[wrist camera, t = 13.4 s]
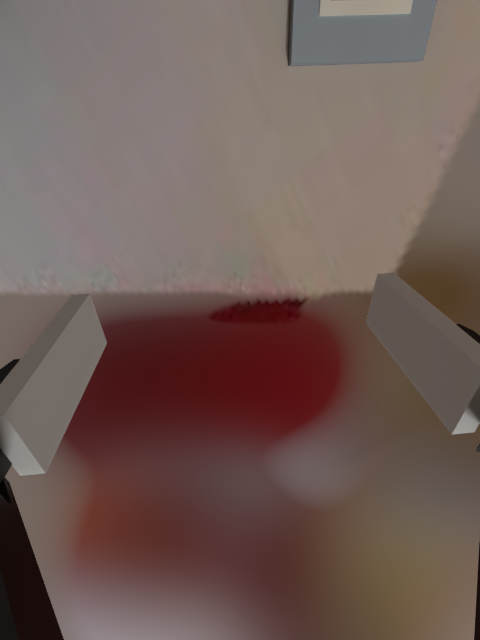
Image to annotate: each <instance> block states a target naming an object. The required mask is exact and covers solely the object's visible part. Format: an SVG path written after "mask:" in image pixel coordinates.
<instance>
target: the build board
mask: <svg viewBox="0 0 480 640" xmlns="http://www.w3.org/2000/svg"><path fill="white" fill-rule="evenodd" d="M436 2H437V0H333V1H331V0H291V19H290V44H289V66H308V65H337V64H365V63H394V62H417V61H421V60H423V59H424V54H425V50H426V46H427V41H428V37H429V33H430V28H431V24H432V20H433V15H434V11H435V7H436Z"/></svg>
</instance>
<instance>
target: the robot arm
mask: <svg viewBox="0 0 480 640" xmlns="http://www.w3.org/2000/svg"><path fill="white" fill-rule="evenodd" d="M366 324H367V325H368V326H369V328H370V329H371V330H372V332H373V333H374V334H375V335H376V337H377V338H378V339H379V341H380V342H381V343H382V344H383V345H384V347H385V348H386V350H387V351H388V352H389V354H390V355H391V356H392V357H393V359H394V360H395V361H396V363H397V364H398V365H399V367H400V368H401V369H402V370H403V372H404V373H405V374H406V376H407V377H408V378H409V379H410V381H411V382H412V383H413V385H414V386H415V387H416V389H417V390H418V391H419V393H420V394H421V395H422V396H423V398H424V399H425V400H426V402H427V403H428V404H429V406H430V407H431V408H432V409H433V411H434V412H435V413H436V415H437V416H438V417H439V418H440V420H441V421H442V422H443V424H444V425H445V426H446V428H447V429H448V430H449V432H450V433H451V434H461V433H471V432H474V431H475V430H476V428H477V426H478V425H479V423H480V336H479V335H478V334H477V333H476V332H474V331H473V330H471V329H468V328H466V327H464V326H462V325H460V324H455V323H453V322H452V321H451V320H450V319H449V318H448V317H446V316H445V315H444V314H443V313H441V312H440V311H439V310H438V309H437V308H435V307H434V306H433V305H432V304H430V303H429V302H428V301H427V300H426V299H425V298H423V297H422V296H421V295H420V294H419V293H417V292H416V291H415V290H414V289H412V288H411V287H410V286H409V285H408V284H406V283H405V282H404V281H403V280H402V279H400V278H399V277H398V276H397V275H396V274H394V273H384V274H377V278H376V283H375V287H374V291H373V295H372V300H371V304H370V308H369V312H368V317H367V321H366ZM106 344H107V342H106V339H105V336H104V333H103V330H102V327H101V324H100V322H99V319H98V316H97V313H96V310H95V308H94V305H93V302H92V299H91V296H90V294H78V295H72V296H71V297H70V298H69V299H68V301H67V302H66V303H65V304H64V306H63V307H62V308H61V309H60V311H59V312H58V313H57V314H56V316H55V317H54V318H53V319H52V321H51V322H50V323H49V324H48V325H47V327H46V328H45V329H44V331H43V332H42V333H41V334H40V336H39V337H38V338H37V339H36V340H35V342H34V343H33V344H32V345H31V347H30V348H29V349H28V350H27V352H26V353H25V354H24V356H23V357H22V358H21V359H15V360H13V361H11V362H10V363H8V364H7V365H6V366H4V367H3V368H2V369H0V640H64V639H63V636H62V633H61V630H60V627H59V625H58V622H57V619H56V616H55V613H54V610H53V607H52V604H51V601H50V599H49V596H48V593H47V590H46V587H45V584H44V581H43V578H42V576H41V573H40V570H39V567H38V564H37V561H36V558H35V555H34V552H33V549H32V547H31V544H30V541H29V538H28V535H27V532H26V529H25V526H24V524H23V521H22V518H21V515H20V512H19V509H18V506H17V503H16V500H15V497H14V495H13V492H12V489H11V486H10V483H9V482H8V481H7V479H6V478H5V475H6V474H7V472H8V470H9V469H10V467H11V465H12V466H13V467H14V468H15V470H16V471H17V472H18V473H19V475H20V476H21V475H32V474H43V473H46V471H47V469H48V467H49V465H50V463H51V461H52V459H53V456H54V454H55V452H56V450H57V448H58V446H59V444H60V442H61V439H62V437H63V435H64V433H65V431H66V429H67V427H68V425H69V422H70V420H71V418H72V416H73V414H74V411H75V410H76V408H77V405H78V403H79V401H80V399H81V397H82V395H83V393H84V390H85V389H86V386H87V384H88V382H89V380H90V378H91V376H92V373H93V372H94V369H95V367H96V365H97V363H98V361H99V359H100V357H101V354H102V352H103V350H104V348H105V346H106ZM476 451H478V452H480V444H479V446H478V447H477V450H476ZM477 582H478V583H477V600H476V617H475V635H474V640H480V544H479V562H478V581H477Z"/></svg>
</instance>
